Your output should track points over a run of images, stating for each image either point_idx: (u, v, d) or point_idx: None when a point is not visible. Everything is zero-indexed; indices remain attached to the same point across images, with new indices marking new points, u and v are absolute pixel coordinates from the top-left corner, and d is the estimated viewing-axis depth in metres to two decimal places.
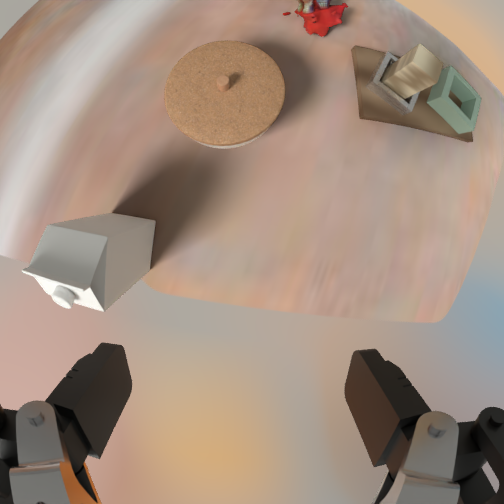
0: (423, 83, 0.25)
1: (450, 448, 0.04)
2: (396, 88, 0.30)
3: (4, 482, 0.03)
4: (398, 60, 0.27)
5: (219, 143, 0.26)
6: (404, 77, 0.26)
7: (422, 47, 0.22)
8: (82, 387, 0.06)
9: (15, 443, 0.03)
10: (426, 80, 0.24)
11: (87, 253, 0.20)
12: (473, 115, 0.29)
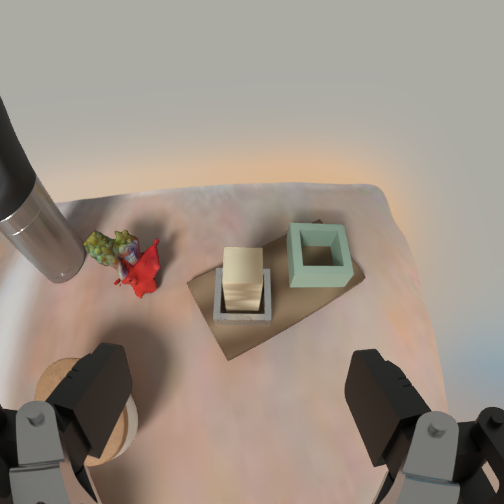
0: (254, 291, 0.29)
1: (450, 448, 0.04)
2: (242, 307, 0.34)
3: (4, 482, 0.03)
4: None
5: (94, 464, 0.18)
6: (235, 297, 0.31)
7: (229, 249, 0.29)
8: (82, 387, 0.06)
9: (15, 443, 0.03)
10: (252, 287, 0.28)
11: None
12: (344, 256, 0.36)
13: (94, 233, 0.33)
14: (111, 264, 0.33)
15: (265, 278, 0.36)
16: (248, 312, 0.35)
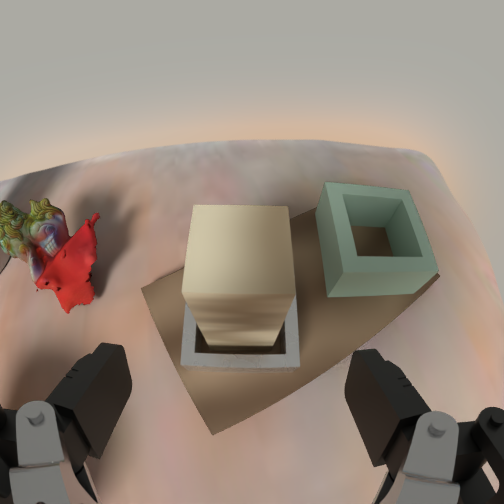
0: (268, 314, 0.11)
1: (450, 448, 0.04)
2: (239, 342, 0.16)
3: (4, 483, 0.03)
4: None
5: None
6: (222, 325, 0.13)
7: (205, 211, 0.12)
8: (82, 387, 0.06)
9: (15, 443, 0.03)
10: (265, 306, 0.11)
11: None
12: (419, 240, 0.19)
13: (0, 204, 0.15)
14: (18, 254, 0.16)
15: None
16: (252, 348, 0.17)
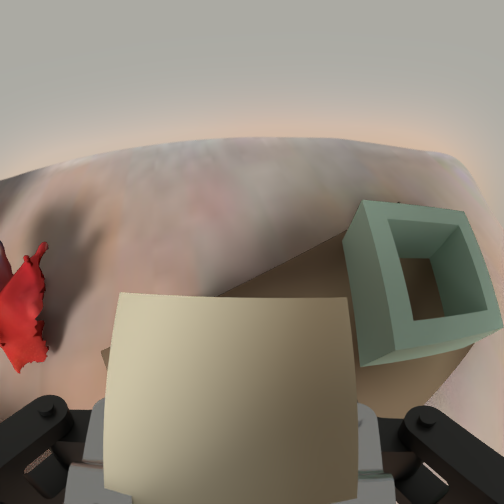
0: None
1: (360, 441, 0.04)
2: None
3: (53, 483, 0.04)
4: None
5: None
6: None
7: (144, 312, 0.04)
8: None
9: None
10: None
11: None
12: (483, 284, 0.11)
13: None
14: None
15: None
16: None
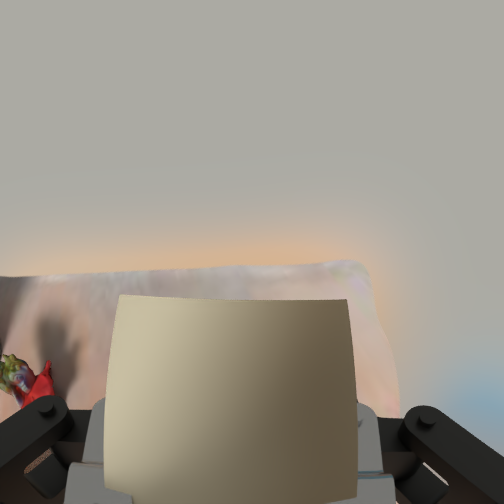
0: None
1: (360, 442, 0.04)
2: None
3: (53, 483, 0.04)
4: None
5: None
6: None
7: (144, 314, 0.04)
8: None
9: None
10: None
11: None
12: None
13: None
14: (5, 391, 0.19)
15: None
16: None
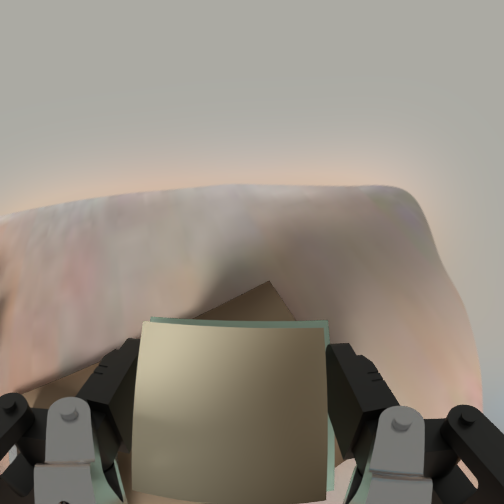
0: None
1: (412, 444, 0.04)
2: None
3: (24, 481, 0.03)
4: None
5: None
6: None
7: (164, 337, 0.06)
8: (115, 382, 0.06)
9: (46, 442, 0.04)
10: None
11: None
12: None
13: None
14: None
15: None
16: None
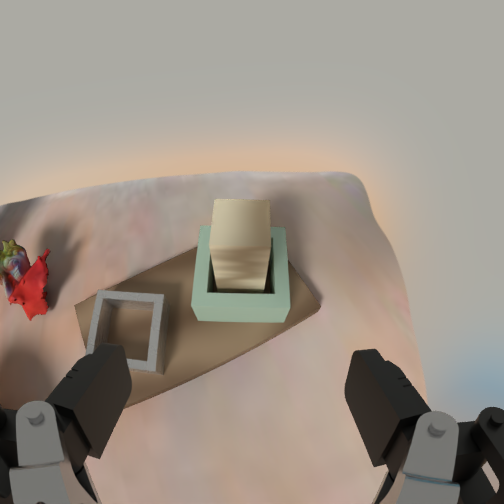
0: (257, 262, 0.20)
1: (450, 448, 0.04)
2: (240, 291, 0.24)
3: (4, 482, 0.03)
4: None
5: None
6: (229, 273, 0.21)
7: (221, 202, 0.20)
8: (82, 387, 0.06)
9: (15, 443, 0.03)
10: (255, 255, 0.19)
11: None
12: (277, 277, 0.24)
13: None
14: None
15: (155, 308, 0.23)
16: None
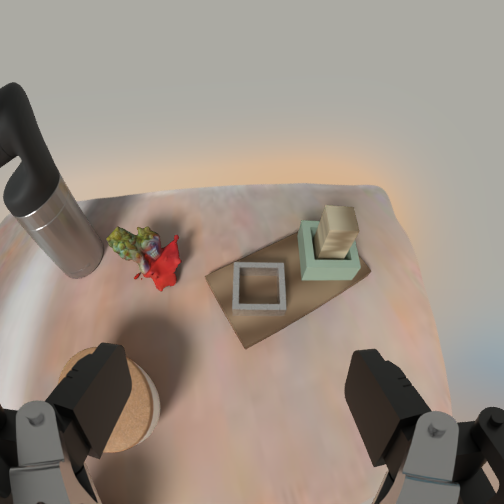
0: (348, 240, 0.35)
1: (450, 448, 0.04)
2: None
3: (4, 483, 0.03)
4: (316, 232, 0.40)
5: (118, 450, 0.21)
6: (330, 247, 0.37)
7: (329, 207, 0.36)
8: (82, 387, 0.06)
9: (15, 443, 0.03)
10: (349, 236, 0.35)
11: None
12: (351, 251, 0.39)
13: (117, 229, 0.36)
14: (134, 258, 0.36)
15: (279, 271, 0.39)
16: None
